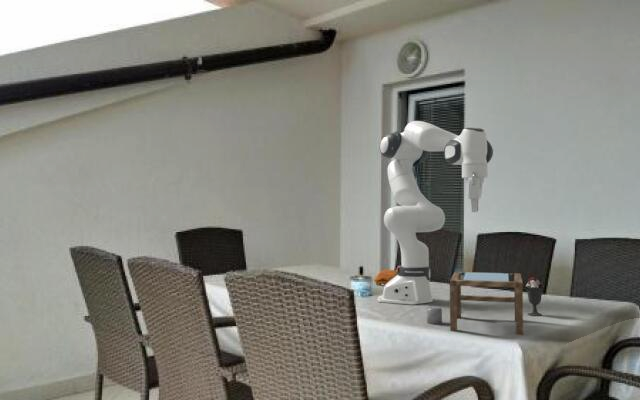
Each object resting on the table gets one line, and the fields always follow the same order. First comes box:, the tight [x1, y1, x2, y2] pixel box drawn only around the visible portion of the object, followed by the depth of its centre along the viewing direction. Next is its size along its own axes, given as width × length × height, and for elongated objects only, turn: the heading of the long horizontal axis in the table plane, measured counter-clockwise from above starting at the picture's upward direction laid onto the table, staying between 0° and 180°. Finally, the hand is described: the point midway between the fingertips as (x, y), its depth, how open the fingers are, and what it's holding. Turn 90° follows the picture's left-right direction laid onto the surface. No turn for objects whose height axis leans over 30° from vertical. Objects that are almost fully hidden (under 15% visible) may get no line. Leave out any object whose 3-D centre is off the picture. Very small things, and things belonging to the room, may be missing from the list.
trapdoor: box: [462, 271, 510, 281], centre depth 197 cm, size 14×18×2 cm
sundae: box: [524, 272, 545, 317], centre depth 212 cm, size 7×7×15 cm
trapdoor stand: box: [449, 271, 524, 335], centre depth 196 cm, size 22×22×16 cm
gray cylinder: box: [426, 306, 443, 325], centre depth 201 cm, size 5×5×5 cm
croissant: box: [374, 269, 398, 285], centre depth 289 cm, size 14×16×8 cm
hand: (475, 211), depth 211 cm, fingers open, 8 cm apart
